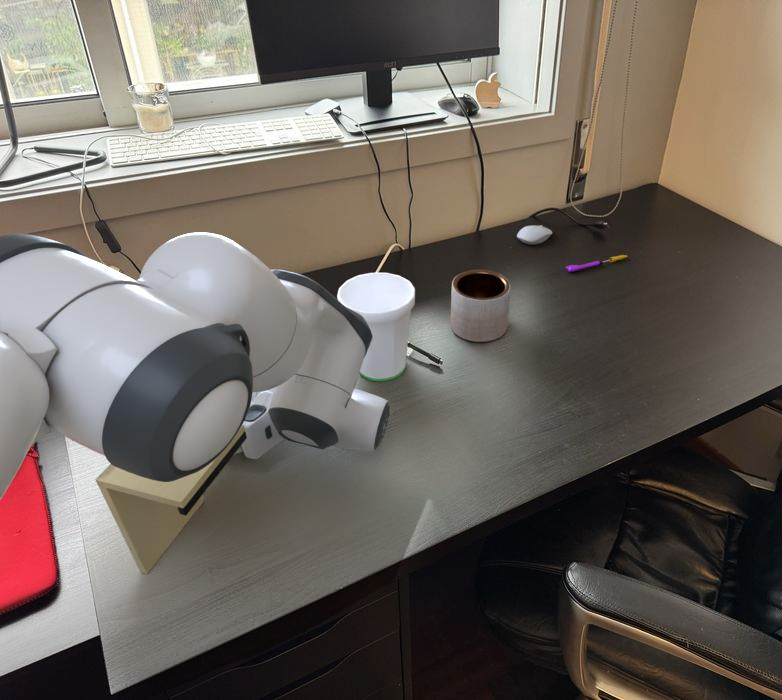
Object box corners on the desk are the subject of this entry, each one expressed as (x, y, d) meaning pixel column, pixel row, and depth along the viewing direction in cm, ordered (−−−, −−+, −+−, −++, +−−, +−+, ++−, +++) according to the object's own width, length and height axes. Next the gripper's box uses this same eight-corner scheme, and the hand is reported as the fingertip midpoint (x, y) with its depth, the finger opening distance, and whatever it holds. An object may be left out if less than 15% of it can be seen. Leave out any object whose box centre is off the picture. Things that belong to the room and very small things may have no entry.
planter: (440, 334, 119) (440, 291, 113) (464, 306, 127) (466, 264, 121) (494, 350, 115) (497, 306, 110) (515, 320, 123) (519, 277, 118)
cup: (349, 394, 105) (340, 317, 96) (342, 349, 115) (334, 275, 105) (423, 384, 107) (421, 308, 98) (411, 341, 117) (408, 268, 108)
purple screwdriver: (570, 273, 137) (628, 259, 144) (570, 268, 137) (628, 254, 143) (562, 270, 140) (620, 256, 146) (562, 265, 139) (620, 251, 145)
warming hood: (267, 516, 85) (243, 424, 75) (216, 595, 76) (181, 502, 65) (198, 498, 87) (166, 406, 77) (140, 572, 78) (94, 479, 68)
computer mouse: (556, 235, 152) (557, 224, 150) (531, 250, 146) (532, 238, 144) (536, 227, 155) (537, 216, 153) (510, 241, 149) (511, 229, 147)
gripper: (312, 345, 98) (232, 329, 101) (240, 435, 83) (148, 413, 85) (316, 376, 102) (240, 360, 105) (249, 468, 86) (160, 446, 89)
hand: (198, 384), depth 95 cm, fingers closed on beverage can, 6 cm apart
